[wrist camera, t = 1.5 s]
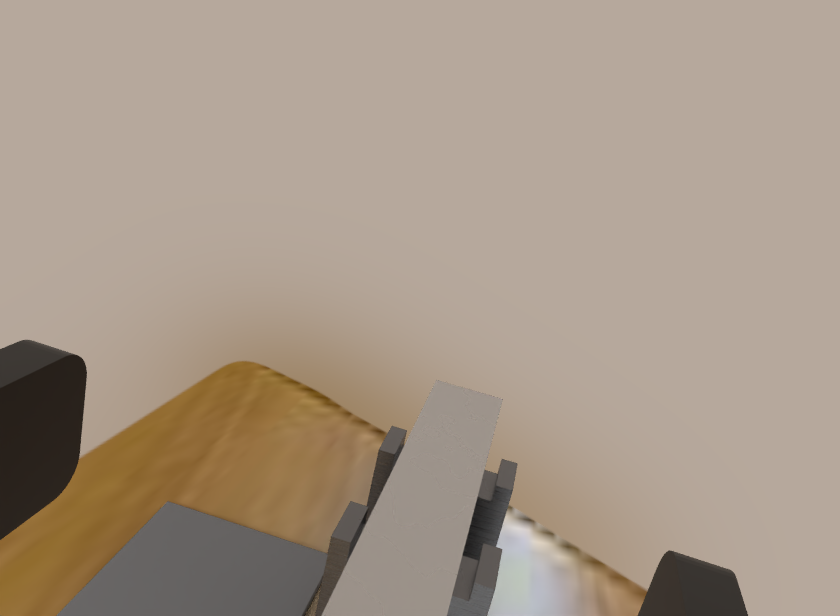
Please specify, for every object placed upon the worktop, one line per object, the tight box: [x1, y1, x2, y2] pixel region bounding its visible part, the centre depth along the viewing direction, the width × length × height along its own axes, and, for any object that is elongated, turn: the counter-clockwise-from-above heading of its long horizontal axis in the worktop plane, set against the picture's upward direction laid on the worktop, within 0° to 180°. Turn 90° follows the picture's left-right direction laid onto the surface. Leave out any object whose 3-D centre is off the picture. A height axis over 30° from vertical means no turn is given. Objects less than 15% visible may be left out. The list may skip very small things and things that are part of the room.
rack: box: [315, 426, 517, 616], centre depth 34 cm, size 11×7×12 cm, turn 167°
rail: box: [321, 380, 503, 616], centre depth 29 cm, size 18×4×4 cm, turn 167°
